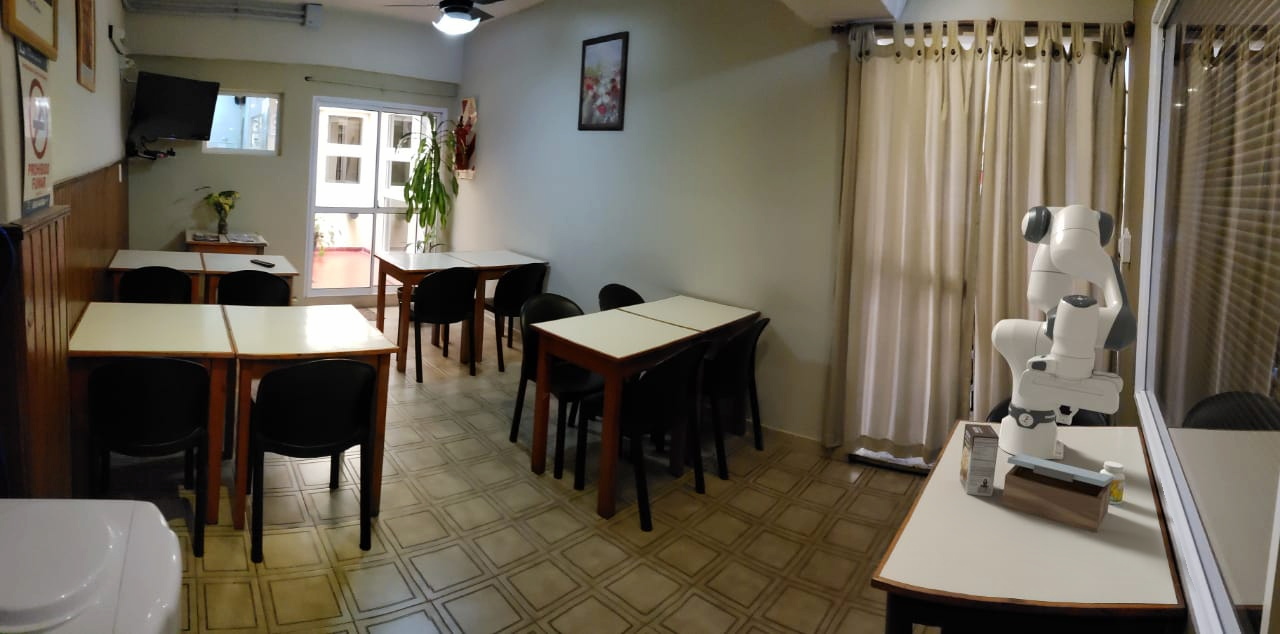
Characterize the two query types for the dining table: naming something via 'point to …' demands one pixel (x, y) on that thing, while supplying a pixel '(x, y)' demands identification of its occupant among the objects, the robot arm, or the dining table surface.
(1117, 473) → the supplement bottle
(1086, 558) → the dining table surface
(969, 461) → the coffee box
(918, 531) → the dining table surface
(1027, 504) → the walnut box
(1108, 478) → the lid
